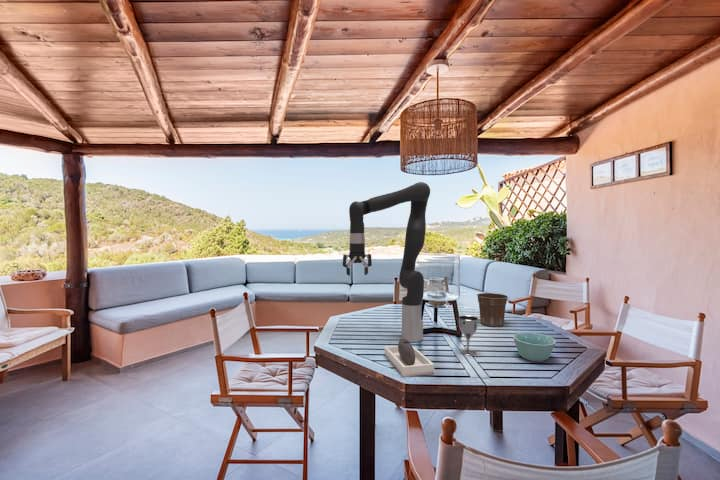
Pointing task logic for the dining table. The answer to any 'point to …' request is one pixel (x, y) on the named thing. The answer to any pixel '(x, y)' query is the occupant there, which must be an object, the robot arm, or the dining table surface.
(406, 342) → the perforated stone tool
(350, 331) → the dining table surface
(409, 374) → the tray
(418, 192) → the robot arm
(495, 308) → the plant pot
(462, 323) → the wine glass
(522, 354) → the bowl
